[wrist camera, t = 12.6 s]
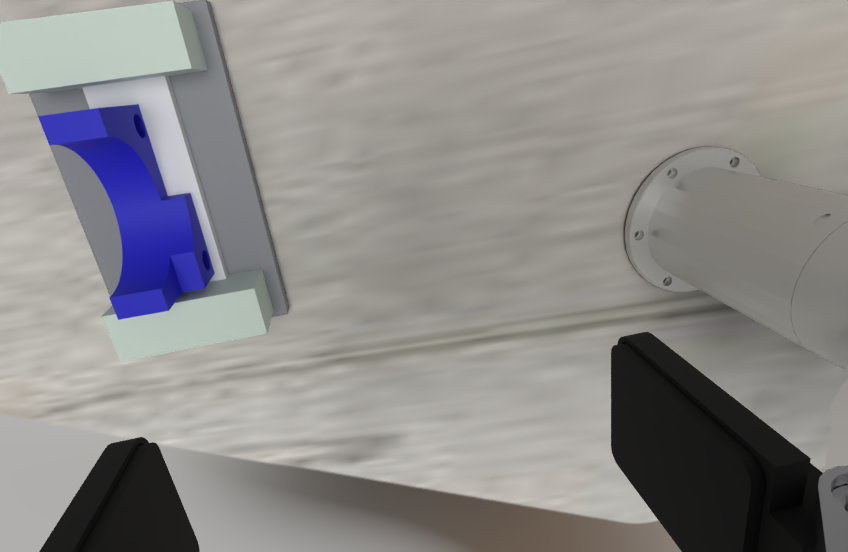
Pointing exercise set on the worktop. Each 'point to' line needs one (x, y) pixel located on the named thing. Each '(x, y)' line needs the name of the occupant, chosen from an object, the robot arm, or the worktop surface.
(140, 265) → the cable clip
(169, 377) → the worktop surface
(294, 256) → the worktop surface
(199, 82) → the board
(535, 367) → the worktop surface
